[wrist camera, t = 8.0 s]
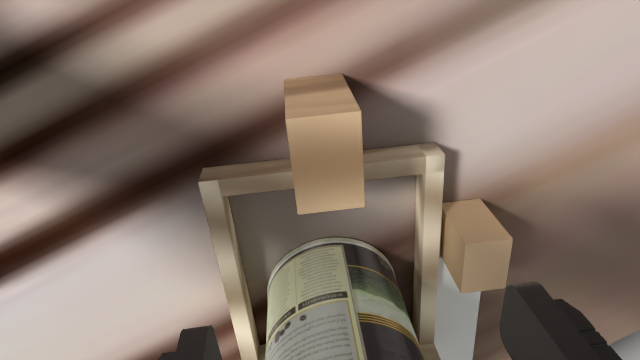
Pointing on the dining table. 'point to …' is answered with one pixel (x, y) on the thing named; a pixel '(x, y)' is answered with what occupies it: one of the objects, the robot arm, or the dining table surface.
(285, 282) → the coffee can
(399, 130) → the dining table surface
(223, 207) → the frame
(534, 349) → the robot arm
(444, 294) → the empty strip
